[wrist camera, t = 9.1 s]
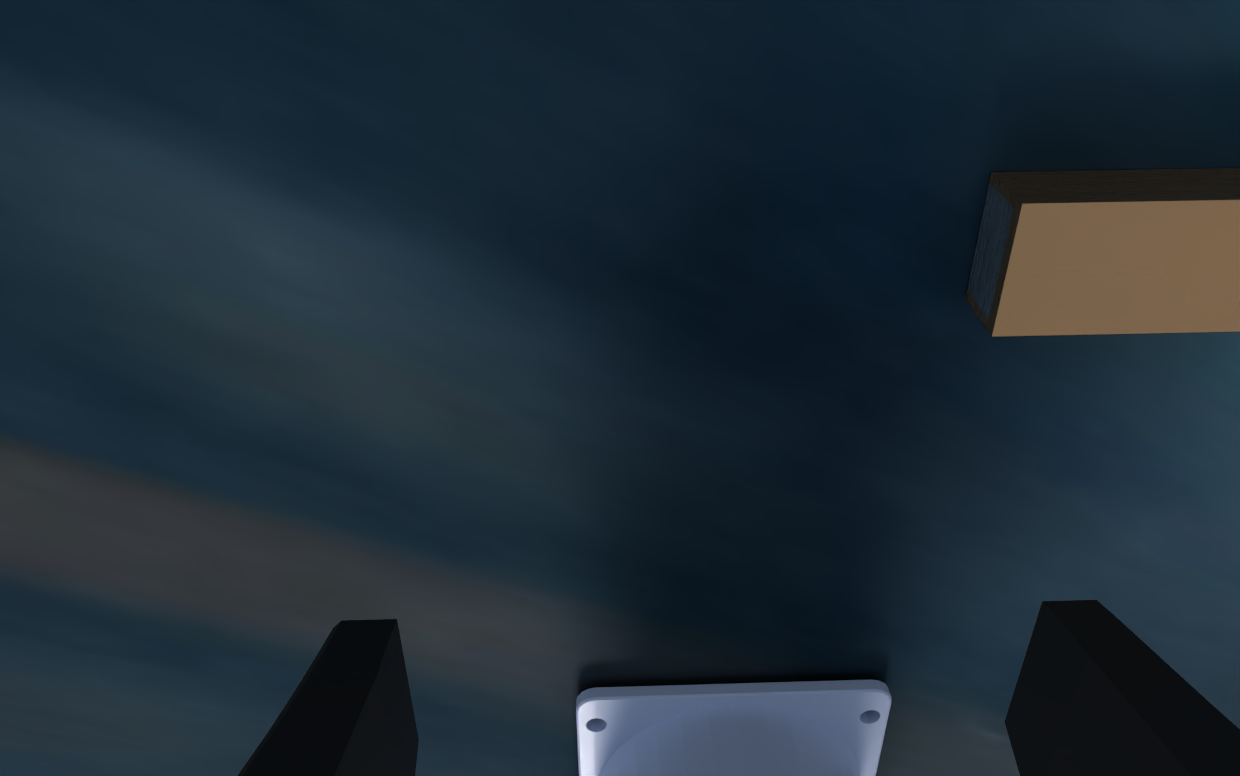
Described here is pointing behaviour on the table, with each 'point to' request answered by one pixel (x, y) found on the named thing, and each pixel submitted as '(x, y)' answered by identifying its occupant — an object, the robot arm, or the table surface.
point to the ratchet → (1109, 252)
